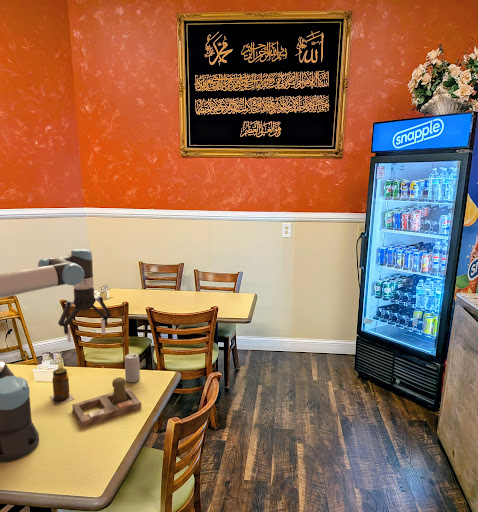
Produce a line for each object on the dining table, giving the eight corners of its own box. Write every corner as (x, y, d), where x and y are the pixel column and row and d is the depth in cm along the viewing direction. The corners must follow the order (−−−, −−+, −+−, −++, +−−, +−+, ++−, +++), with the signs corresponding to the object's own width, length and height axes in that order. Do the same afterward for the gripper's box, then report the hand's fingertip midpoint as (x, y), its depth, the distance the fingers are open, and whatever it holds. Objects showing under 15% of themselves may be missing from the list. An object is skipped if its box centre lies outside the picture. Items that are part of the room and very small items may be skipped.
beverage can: (137, 383, 175) (136, 358, 173) (123, 383, 175) (122, 358, 173) (141, 376, 181) (140, 352, 179) (128, 376, 181) (126, 352, 179)
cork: (123, 408, 155) (122, 383, 153) (109, 406, 156) (108, 381, 154) (130, 400, 161) (129, 376, 159) (116, 399, 162) (115, 374, 160)
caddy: (81, 428, 143) (81, 420, 142) (72, 410, 154) (72, 403, 153) (141, 407, 156) (141, 401, 155) (128, 392, 167) (128, 386, 167)
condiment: (68, 391, 168) (66, 365, 166) (74, 399, 162) (72, 372, 159) (50, 396, 163) (47, 370, 161) (55, 405, 157) (53, 378, 155)
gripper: (51, 294, 145) (55, 347, 148) (117, 285, 159) (119, 333, 163) (47, 289, 151) (51, 341, 154) (111, 281, 165) (114, 328, 169)
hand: (86, 337), depth 159 cm, fingers open, 13 cm apart
